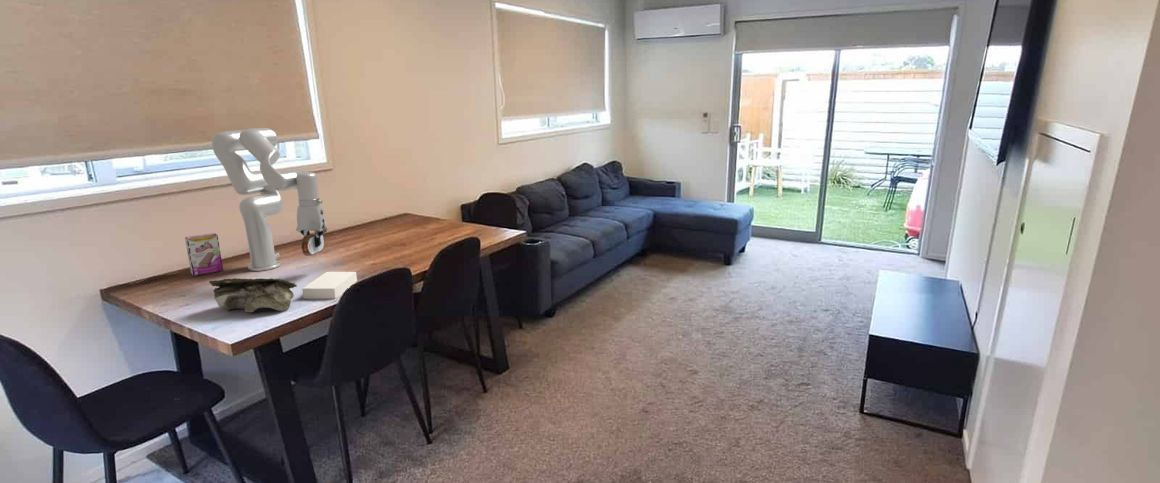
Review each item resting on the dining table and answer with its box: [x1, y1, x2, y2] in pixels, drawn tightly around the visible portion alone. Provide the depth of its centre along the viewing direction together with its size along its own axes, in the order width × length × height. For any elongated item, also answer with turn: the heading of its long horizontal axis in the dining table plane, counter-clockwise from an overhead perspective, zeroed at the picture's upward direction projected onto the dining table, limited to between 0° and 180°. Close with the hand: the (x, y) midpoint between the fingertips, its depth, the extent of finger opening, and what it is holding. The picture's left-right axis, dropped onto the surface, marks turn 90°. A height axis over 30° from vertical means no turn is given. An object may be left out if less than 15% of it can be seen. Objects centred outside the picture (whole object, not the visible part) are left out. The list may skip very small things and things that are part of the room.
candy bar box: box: [184, 232, 224, 277], centre depth 234 cm, size 11×5×16 cm, turn 135°
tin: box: [301, 231, 325, 257], centre depth 228 cm, size 15×3×8 cm, turn 179°
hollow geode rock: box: [209, 277, 298, 313], centre depth 193 cm, size 28×13×15 cm
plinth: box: [302, 271, 358, 300], centre depth 215 cm, size 20×12×4 cm, turn 179°
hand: (313, 245), depth 229 cm, fingers closed on tin, 2 cm apart
